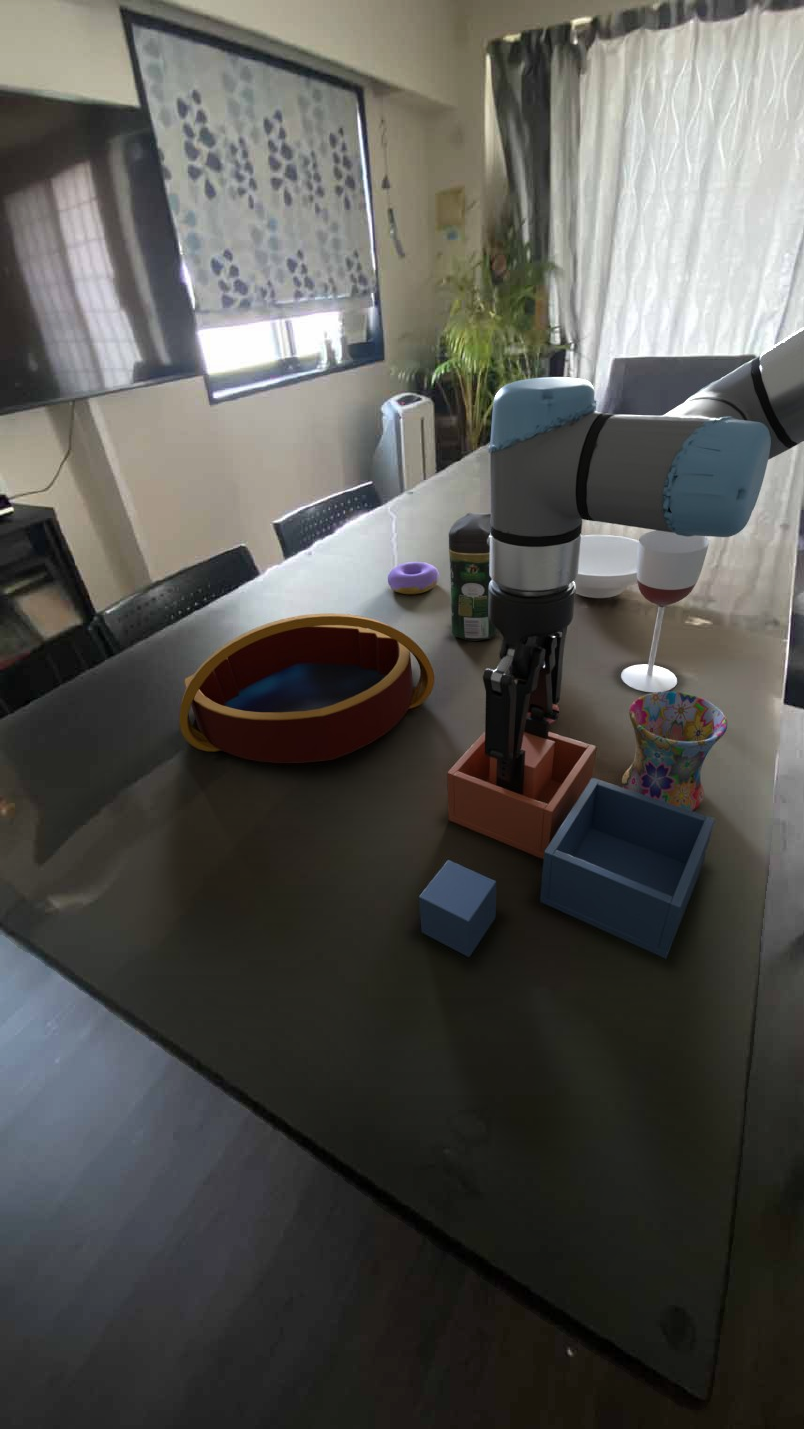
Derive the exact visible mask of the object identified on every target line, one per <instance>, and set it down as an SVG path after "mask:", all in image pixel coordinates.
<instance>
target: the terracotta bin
mask: <svg viewBox="0 0 804 1429" xmlns="http://www.w3.org/2000/svg"><path fill="white" fill-rule="evenodd" d="M548 740H551V741H554V742H555V745H554V756H553V767H552V778H551V779H550V781H549V782H548V783H547V785H546V786H545V788H544V789H543V790H542V792H541V793H540V795H539V796H538V797H537V799H536V800H534V799H531V798H529V797H526V796H523V795H521V794H518V793H515V792H512V791H510V790H507V789H504V788H502V787H499V786H496V785H493V784H491V783H489V782H490V756H487V755H485V731H484V732H483V733H482V734H481V735H480V737H479V738H478V739H477V740H476V741H475V742H474V743H473V744H472V745H471V747H470V748H468V749H467V751H465V753H464V754H463V755H461V757H460V758H459V759H458V760H457V761H456V762H455V764H454V765H453V766H452V767H451V768H450V769H449V770H448V771H447V773H446V774H447V775H446V776H447V803H448V804H447V805H448V806H447V807H448V821H450V822H452V823H455V824H457V825H460V826H462V827H465V828H467V829H469V830H471V831H474V832H477V833H479V834H481V835H484V836H485V837H489V838H491V839H494V840H496V841H499V842H501V843H503V844H505V845H507V846H510V847H513V848H515V849H518V850H520V851H523V852H524V853H527V854H530V855H532V856H534V857H537V858H539V859H542V860H544V851H545V850H546V848H547V847H548V845H549V844H550V842H551V841H552V839H553V838H554V836H555V835H556V833H557V831H558V830H559V828H560V827H561V825H562V824H563V822H564V821H565V819H566V818H567V816H568V814H569V813H570V811H571V810H572V808H573V807H574V805H575V804H576V802H577V801H578V799H579V797H580V796H581V794H582V793H583V791H584V790H585V788H586V787H587V785H588V784H589V782H590V780H591V779H592V778H594V770H595V769H594V768H595V761H596V753H597V746H596V745H593V744H589V743H585V742H584V741H583V742H582V741H579V740H576V739H573V738H570V737H567V736H563V735H560V734H557V733H554V732H551V731H548Z"/></svg>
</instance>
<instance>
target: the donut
mask: <svg viewBox="0 0 804 1429" xmlns="http://www.w3.org/2000/svg"><path fill="white" fill-rule="evenodd" d="M439 579H440V573H439V570H438V568H436V567H435V566H434V565H433V564H430V563H427V562H421V561H410V562H405V563H402V564H398V565H396V566H395V567H393V568H392V569H391V570H390V571H389V573H388V575H387V583H388V586H389V587H390V588H391V590H393V591H394V592H395V593H399V594H403V595H417V594H423V593H425V592H428V591H430V590H431V589H433V588H435V586H437V584H438V582H439Z"/></svg>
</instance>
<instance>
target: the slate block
mask: <svg viewBox="0 0 804 1429" xmlns="http://www.w3.org/2000/svg"><path fill="white" fill-rule="evenodd" d="M418 903H419V915H420V916H419V917H420V929H421V933H422V934H424V935H426V936H428V937H430V938H431V939H433V940H435V941H437V942H439V943H441V944H443V945H444V946H447V947H449V948H451V949H452V950H454V951H455V952H458V953H460V954H461V955H463V956H465V957H468V958H470V957H471V956H472V954H473V952H474V951H475V949H476V948H477V946H479V943H480V942H481V940H482V939H483V937H484V936H485V934H486V933H487V931H488V930H489V928H490V927H491V925H492V924H493V922H494V921H495V919H496V914H497V913H496V911H497V881H496V880H495V879H491V878H490V877H488V876H485V875H483V874H480V873H479V872H476V871H475V870H472V869H469V868H467V867H465V866H463V865H461V864H458V863H456V862H454V861H452V860H450V859H448V860H446V861H445V863H444V864H443V866H441V868H440V869H439V871H438V872H437V873H436V874H435V875H434V877H433V878H432V879H431V881H429V883H428V884H427V886H426V887H425V888H424V890H423V891H422V892H421V894H419V896H418Z"/></svg>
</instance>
